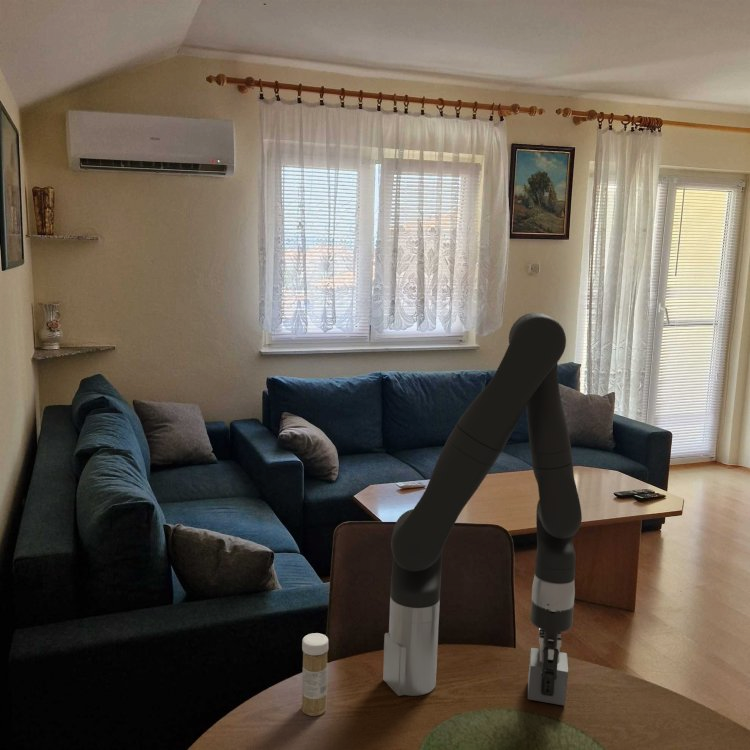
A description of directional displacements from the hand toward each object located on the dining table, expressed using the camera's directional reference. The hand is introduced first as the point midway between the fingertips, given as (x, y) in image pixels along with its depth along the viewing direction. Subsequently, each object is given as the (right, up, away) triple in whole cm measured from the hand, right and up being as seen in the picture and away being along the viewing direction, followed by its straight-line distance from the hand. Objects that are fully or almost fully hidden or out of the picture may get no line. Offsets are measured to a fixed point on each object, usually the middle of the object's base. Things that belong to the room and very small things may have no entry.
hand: (546, 683), depth 134 cm
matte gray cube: (0, -2, 0) cm, 2 cm away
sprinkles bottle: (-43, -2, -6) cm, 43 cm away
